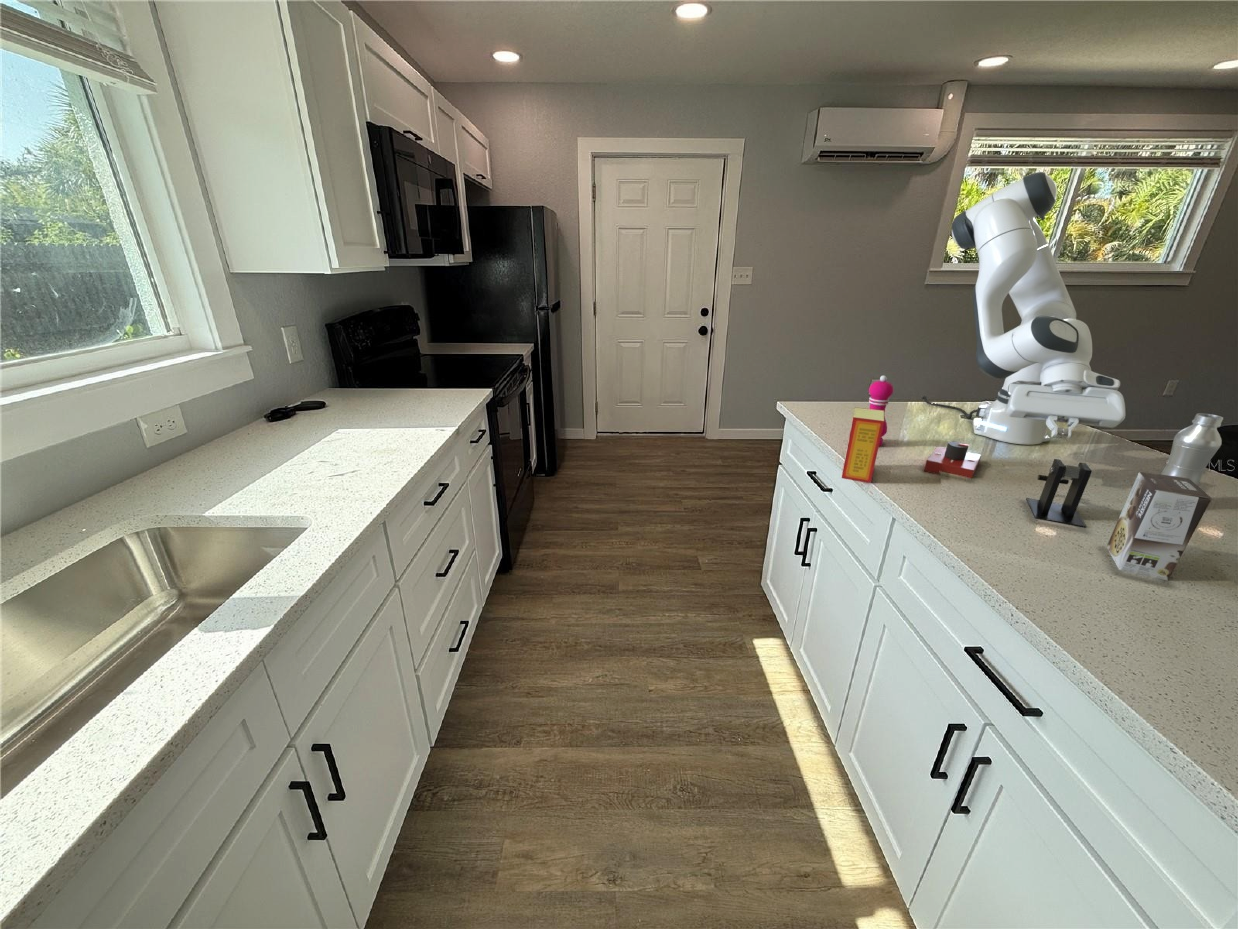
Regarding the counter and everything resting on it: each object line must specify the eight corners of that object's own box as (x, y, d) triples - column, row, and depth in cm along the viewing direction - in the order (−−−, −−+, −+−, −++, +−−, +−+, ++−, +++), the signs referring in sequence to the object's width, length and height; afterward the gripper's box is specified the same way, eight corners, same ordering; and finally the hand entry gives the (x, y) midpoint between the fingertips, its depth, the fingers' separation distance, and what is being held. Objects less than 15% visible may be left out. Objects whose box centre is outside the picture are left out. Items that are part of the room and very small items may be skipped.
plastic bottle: (1183, 512, 103) (1228, 422, 96) (1141, 499, 109) (1180, 413, 101) (1195, 506, 106) (1240, 417, 98) (1153, 493, 112) (1192, 409, 104)
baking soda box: (843, 464, 129) (855, 405, 122) (871, 468, 126) (884, 409, 120) (841, 478, 121) (853, 416, 114) (870, 483, 118) (884, 419, 112)
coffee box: (1168, 586, 81) (1214, 499, 74) (1116, 573, 84) (1155, 489, 78) (1151, 559, 88) (1191, 477, 82) (1103, 548, 91) (1138, 469, 85)
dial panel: (934, 456, 134) (937, 445, 132) (978, 465, 127) (981, 454, 126) (923, 470, 125) (926, 459, 123) (970, 481, 118) (974, 469, 117)
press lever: (1036, 482, 108) (1038, 472, 108) (1065, 487, 106) (1067, 476, 106) (1055, 475, 98) (1057, 463, 99) (1087, 480, 96) (1089, 468, 96)
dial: (942, 457, 125) (946, 443, 123) (946, 452, 128) (950, 439, 126) (962, 461, 122) (966, 447, 120) (966, 457, 125) (970, 443, 123)
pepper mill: (887, 448, 139) (902, 378, 131) (859, 446, 141) (873, 377, 133) (879, 439, 146) (894, 373, 138) (854, 438, 147) (866, 372, 139)
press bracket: (1024, 502, 108) (1042, 453, 104) (1070, 510, 105) (1091, 459, 100) (1033, 522, 100) (1053, 469, 96) (1084, 531, 97) (1107, 477, 92)
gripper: (1013, 372, 115) (1008, 423, 110) (1130, 381, 106) (1129, 437, 102) (1004, 387, 120) (999, 436, 116) (1114, 396, 111) (1113, 450, 107)
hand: (1061, 437), depth 109 cm, fingers closed
